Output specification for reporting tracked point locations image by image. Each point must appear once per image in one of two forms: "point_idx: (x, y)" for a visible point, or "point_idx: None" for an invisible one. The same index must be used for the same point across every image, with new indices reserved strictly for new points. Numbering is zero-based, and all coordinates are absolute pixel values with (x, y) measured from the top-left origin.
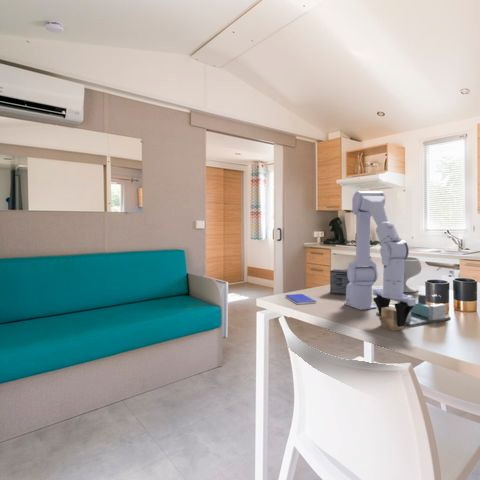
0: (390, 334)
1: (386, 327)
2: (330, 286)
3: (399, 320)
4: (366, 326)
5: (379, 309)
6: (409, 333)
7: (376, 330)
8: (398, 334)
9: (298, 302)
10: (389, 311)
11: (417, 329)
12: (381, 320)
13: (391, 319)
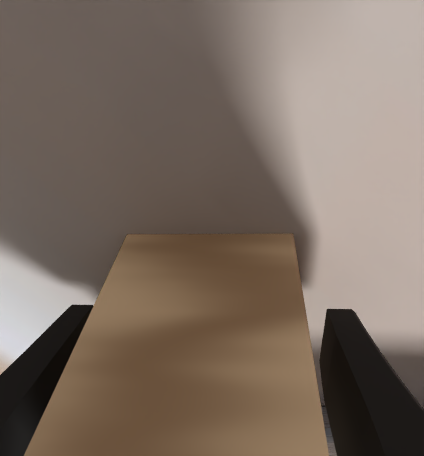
0: (12, 124)
1: (209, 239)
2: None
3: (15, 361)
4: (385, 43)
5: (406, 437)
6: (28, 301)
7: (182, 61)
8: (7, 204)
9: None
10: (113, 444)
11: None
12: (295, 281)
13: (107, 328)
